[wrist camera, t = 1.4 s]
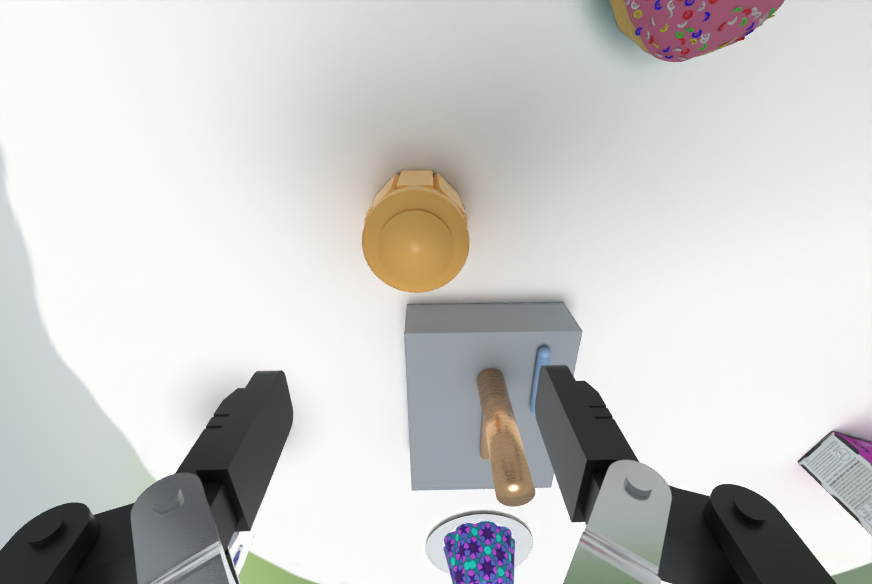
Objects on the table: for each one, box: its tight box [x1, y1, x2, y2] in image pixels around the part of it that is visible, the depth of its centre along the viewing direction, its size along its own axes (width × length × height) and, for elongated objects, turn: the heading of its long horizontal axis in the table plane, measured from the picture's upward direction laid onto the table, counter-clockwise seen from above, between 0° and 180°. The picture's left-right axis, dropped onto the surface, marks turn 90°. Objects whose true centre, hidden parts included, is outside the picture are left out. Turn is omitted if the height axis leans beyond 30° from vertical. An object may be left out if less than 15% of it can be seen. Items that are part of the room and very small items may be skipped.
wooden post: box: [476, 368, 535, 506], centre depth 24 cm, size 2×2×9 cm
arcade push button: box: [362, 170, 469, 293], centre depth 23 cm, size 6×6×7 cm
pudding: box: [426, 514, 533, 584], centre depth 42 cm, size 12×12×5 cm
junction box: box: [404, 303, 582, 490], centre depth 31 cm, size 16×12×5 cm
